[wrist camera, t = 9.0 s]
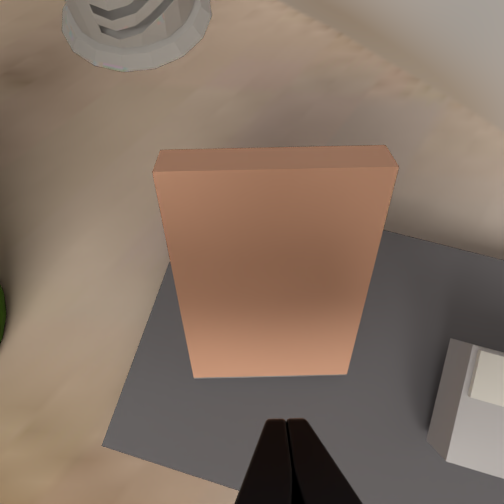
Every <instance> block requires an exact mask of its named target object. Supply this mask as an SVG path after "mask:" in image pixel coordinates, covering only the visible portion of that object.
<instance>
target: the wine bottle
mask: <svg viewBox="0 0 504 504" xmlns="http://www.w3.org/2000/svg"><path fill="white" fill-rule="evenodd" d="M5 320H6V306H5V297H4V292H3V289H2V287H1V285H0V343H1V340H2V338H3V332H4V326H5Z"/></svg>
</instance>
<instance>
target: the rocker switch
mask: <svg viewBox="0 0 504 504" xmlns="http://www.w3.org/2000/svg"><path fill="white" fill-rule="evenodd" d="M426 440H427V442H428V443H429V444H430V445H431V446H432V447H433V448H434V449H435V450H436V451H437V452H438V453H439V454H440V456H441V457H442V458H443V459H444V460H445V461H447V462H450V463H453V464H456V465H460V466H463V467H466V468H470V469H473V470H476V471H480V472H483V473H486V474H489V475H493V476H496V477H499V478H503V479H504V353H503V352H500V351H496V350H492V349H489V348H485V347H481V346H478V345H474V344H470V343H467V342H463V341H459V340H456V339H452V338H450V342H449V346H448V350H447V355H446V359H445V363H444V367H443V372H442V376H441V380H440V384H439V388H438V393H437V397H436V401H435V405H434V410H433V414H432V418H431V422H430V427H429V431H428V435H427V439H426Z"/></svg>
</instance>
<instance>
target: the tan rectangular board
mask: <svg viewBox="0 0 504 504" xmlns="http://www.w3.org/2000/svg"><path fill="white" fill-rule="evenodd" d="M398 169H399V166H398V164H397V163H396V161H395V159H394V158H393V156H392V155H391V153H390V151H389V150H388V148H387V147H386V145H363V146H316V147H269V148H222V149H175V150H160V152H159V155H158V158H157V160H156V163H155V166H154V169H153V171H152V173H153V178H154V183H155V188H156V193H157V198H158V203H159V208H160V213H161V218H162V223H163V228H164V233H165V238H166V242H167V247H168V252H169V257H170V262H171V267H172V272H173V277H174V282H175V287H176V292H177V297H178V302H179V307H180V312H181V317H182V322H183V327H184V332H185V337H186V342H187V347H188V352H189V357H190V362H191V367H192V372H193V377H194V379H207V378H252V377H297V376H342V375H346V374H347V372H348V368H349V364H350V360H351V356H352V352H353V348H354V344H355V340H356V336H357V332H358V328H359V324H360V320H361V316H362V312H363V308H364V304H365V300H366V296H367V292H368V288H369V284H370V280H371V276H372V272H373V268H374V264H375V260H376V256H377V252H378V248H379V244H380V241H381V237H382V233H383V229H384V225H385V221H386V217H387V213H388V209H389V205H390V201H391V197H392V193H393V189H394V185H395V181H396V177H397V173H398Z"/></svg>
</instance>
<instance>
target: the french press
mask: <svg viewBox="0 0 504 504" xmlns="http://www.w3.org/2000/svg"><path fill="white" fill-rule="evenodd" d="M65 2H66V4H65V6H64V8H63V16H62V32H63V34H64V36H65V38H66V40H67V41H68V43H69V45H70V47H71V49H72V51H73V52H75V53H76V54H78V55H79V56H81V57H82V58H84V59H85V60H87V61H88V62H90V63H91V64H93V65H94V66H98V67H103V68H107V69H112V70H116V71H121V72H129V71H138V70H148V69H156V68H158V67H160V66H163V65H165V64H167V63H169V62H172V61H174V60H176V59H179V58H181V57H183V56H184V55H185V54H186V53H187V52H188V51H189V50H190V49H192V48H193V47H194V46H195V45H196V44H197V43H198V42H199V41H200V40H201V39H202V38H203V36H204V34H205V31H206V29H207V27H208V24H209V22H210V19H211V17H212V14H211V6H210V0H65Z"/></svg>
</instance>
